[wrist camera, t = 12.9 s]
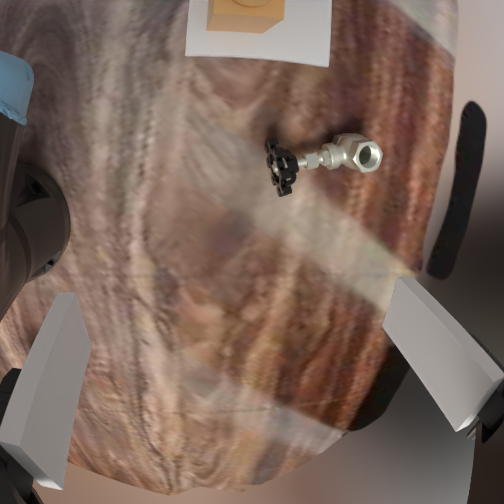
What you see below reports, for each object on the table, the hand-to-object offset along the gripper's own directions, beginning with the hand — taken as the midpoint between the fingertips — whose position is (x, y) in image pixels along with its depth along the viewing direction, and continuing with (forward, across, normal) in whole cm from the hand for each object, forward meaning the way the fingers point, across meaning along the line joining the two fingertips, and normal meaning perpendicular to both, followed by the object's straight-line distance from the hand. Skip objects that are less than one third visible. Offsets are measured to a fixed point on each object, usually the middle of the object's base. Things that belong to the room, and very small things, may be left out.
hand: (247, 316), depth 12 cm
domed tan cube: (+26, +2, +19) cm, 32 cm away
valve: (+27, +12, +2) cm, 30 cm away
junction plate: (+27, +5, +21) cm, 34 cm away
